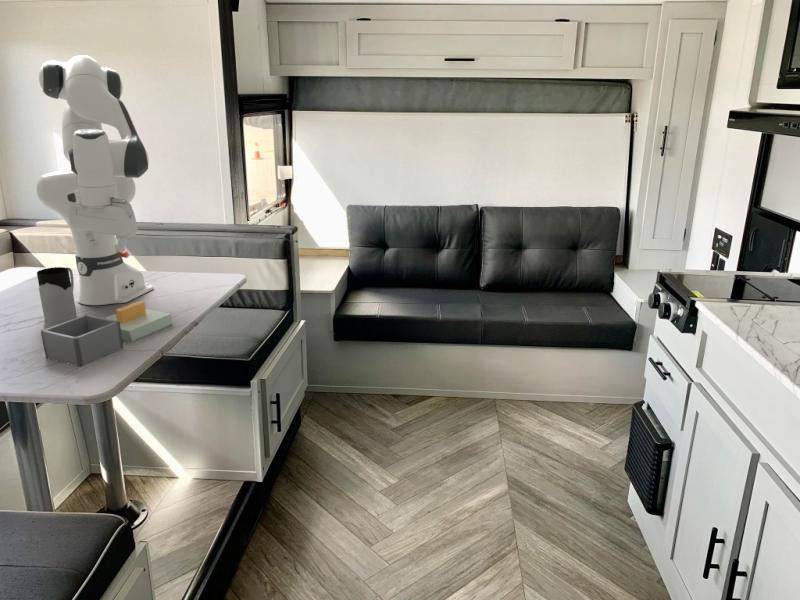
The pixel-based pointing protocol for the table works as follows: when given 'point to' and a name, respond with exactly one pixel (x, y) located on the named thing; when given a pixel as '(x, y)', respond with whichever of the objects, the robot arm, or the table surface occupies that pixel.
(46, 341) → the parts tub
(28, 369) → the table surface
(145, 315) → the lid
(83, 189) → the robot arm
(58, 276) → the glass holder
